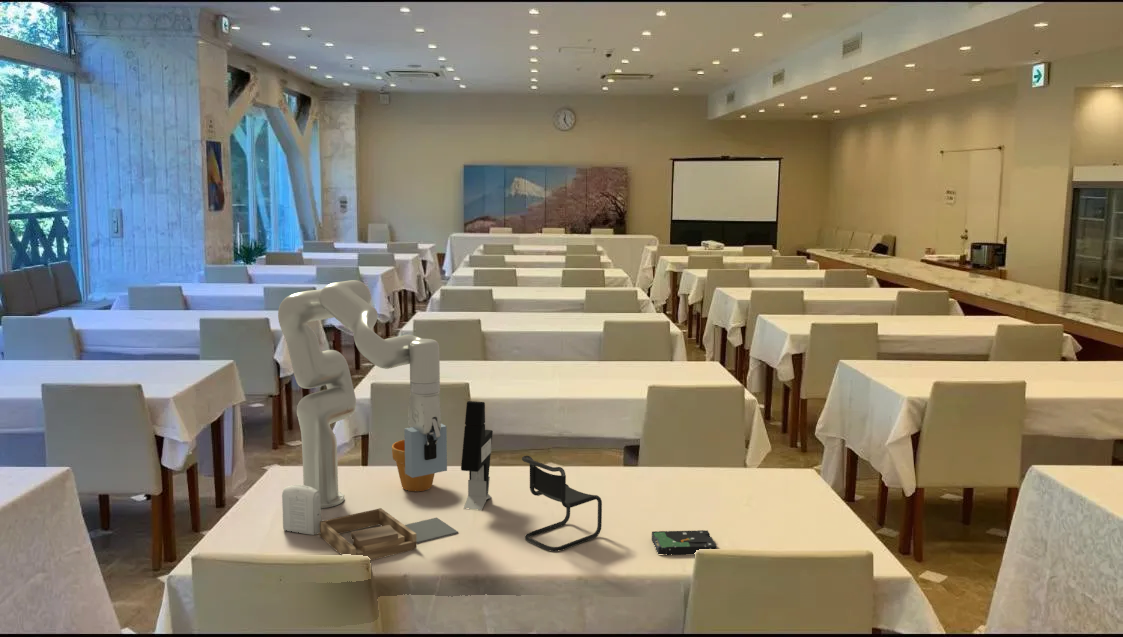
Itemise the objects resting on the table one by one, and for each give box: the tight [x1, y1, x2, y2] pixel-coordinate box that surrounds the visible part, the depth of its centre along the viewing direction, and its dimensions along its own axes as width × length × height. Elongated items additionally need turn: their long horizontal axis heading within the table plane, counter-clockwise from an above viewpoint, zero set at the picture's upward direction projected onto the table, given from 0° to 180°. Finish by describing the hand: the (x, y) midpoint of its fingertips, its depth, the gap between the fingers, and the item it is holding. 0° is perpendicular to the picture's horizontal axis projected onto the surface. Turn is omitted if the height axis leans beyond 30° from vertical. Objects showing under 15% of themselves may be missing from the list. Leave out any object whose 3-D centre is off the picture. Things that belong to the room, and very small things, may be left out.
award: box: [460, 400, 494, 511], centre depth 262 cm, size 15×5×30 cm, turn 168°
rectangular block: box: [403, 423, 448, 478], centre depth 240 cm, size 4×10×12 cm, turn 125°
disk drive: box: [651, 529, 718, 556], centre depth 235 cm, size 10×3×15 cm
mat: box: [404, 517, 459, 544], centre depth 244 cm, size 12×12×1 cm
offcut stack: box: [350, 525, 405, 554], centre depth 232 cm, size 8×12×4 cm, turn 125°
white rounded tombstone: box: [281, 484, 322, 536], centre depth 242 cm, size 10×4×12 cm, turn 73°
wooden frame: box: [319, 507, 418, 561], centre depth 236 cm, size 21×17×4 cm
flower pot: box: [391, 439, 436, 492], centre depth 276 cm, size 14×14×13 cm
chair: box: [521, 455, 603, 552], centre depth 239 cm, size 13×17×22 cm
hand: (426, 455), depth 241 cm, fingers closed on rectangular block, 4 cm apart
